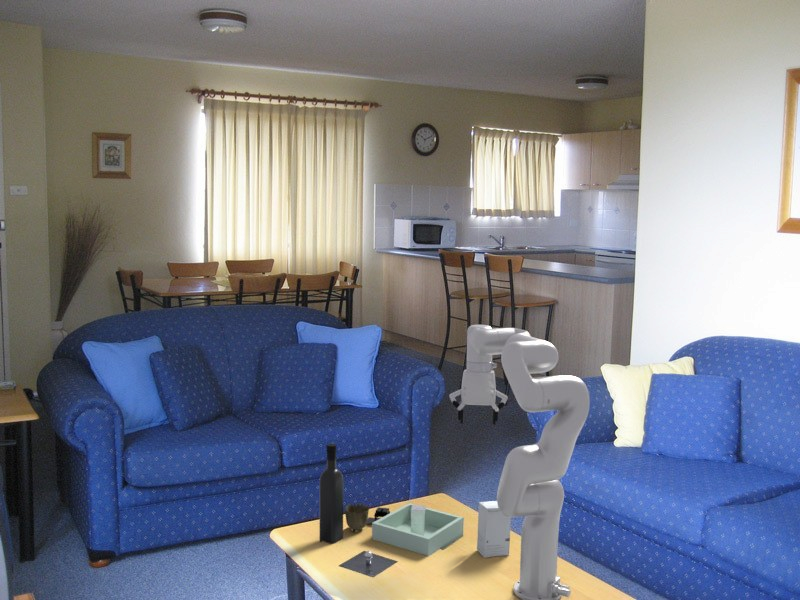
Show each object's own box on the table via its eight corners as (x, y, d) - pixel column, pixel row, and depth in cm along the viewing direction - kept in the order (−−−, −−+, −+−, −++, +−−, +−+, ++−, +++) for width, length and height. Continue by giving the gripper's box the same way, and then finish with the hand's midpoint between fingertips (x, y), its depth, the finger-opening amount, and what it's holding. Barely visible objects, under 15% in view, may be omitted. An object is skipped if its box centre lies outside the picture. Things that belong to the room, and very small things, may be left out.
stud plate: (398, 564, 232) (398, 549, 231) (373, 580, 222) (373, 564, 221) (364, 554, 238) (364, 538, 238) (338, 569, 229) (338, 553, 228)
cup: (365, 538, 249) (365, 513, 248) (341, 536, 251) (342, 510, 250) (371, 528, 256) (371, 504, 255) (348, 526, 258) (348, 502, 257)
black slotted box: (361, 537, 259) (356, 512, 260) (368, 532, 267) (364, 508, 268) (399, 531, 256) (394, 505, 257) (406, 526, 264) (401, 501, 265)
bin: (463, 536, 252) (463, 517, 251) (428, 559, 236) (428, 539, 235) (408, 520, 263) (409, 502, 262) (371, 542, 247) (372, 522, 246)
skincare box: (484, 558, 237) (485, 509, 235) (476, 549, 242) (477, 501, 240) (510, 555, 239) (512, 506, 237) (502, 546, 245) (503, 498, 243)
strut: (424, 533, 251) (425, 505, 250) (423, 538, 247) (424, 510, 246) (411, 532, 251) (412, 504, 250) (410, 538, 247) (411, 509, 246)
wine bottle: (329, 536, 250) (329, 440, 247) (344, 540, 247) (345, 444, 244) (317, 543, 245) (318, 445, 242) (333, 547, 243) (333, 448, 239)
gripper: (507, 364, 246) (506, 420, 248) (450, 363, 247) (448, 418, 249) (509, 370, 239) (507, 427, 241) (449, 368, 240) (448, 425, 242)
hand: (477, 423), depth 245 cm, fingers open, 9 cm apart
